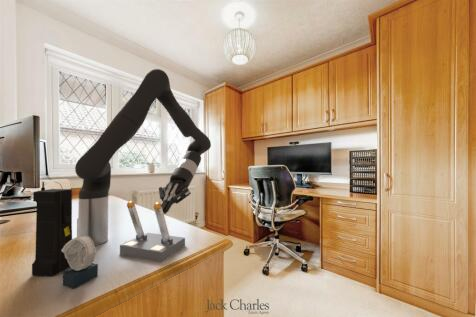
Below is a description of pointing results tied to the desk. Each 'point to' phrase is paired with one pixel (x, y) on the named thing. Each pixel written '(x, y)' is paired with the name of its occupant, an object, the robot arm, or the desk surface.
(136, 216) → the lever
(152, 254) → the switch console
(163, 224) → the lever
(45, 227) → the portable radio
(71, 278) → the stone sculpture on base
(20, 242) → the desk surface
